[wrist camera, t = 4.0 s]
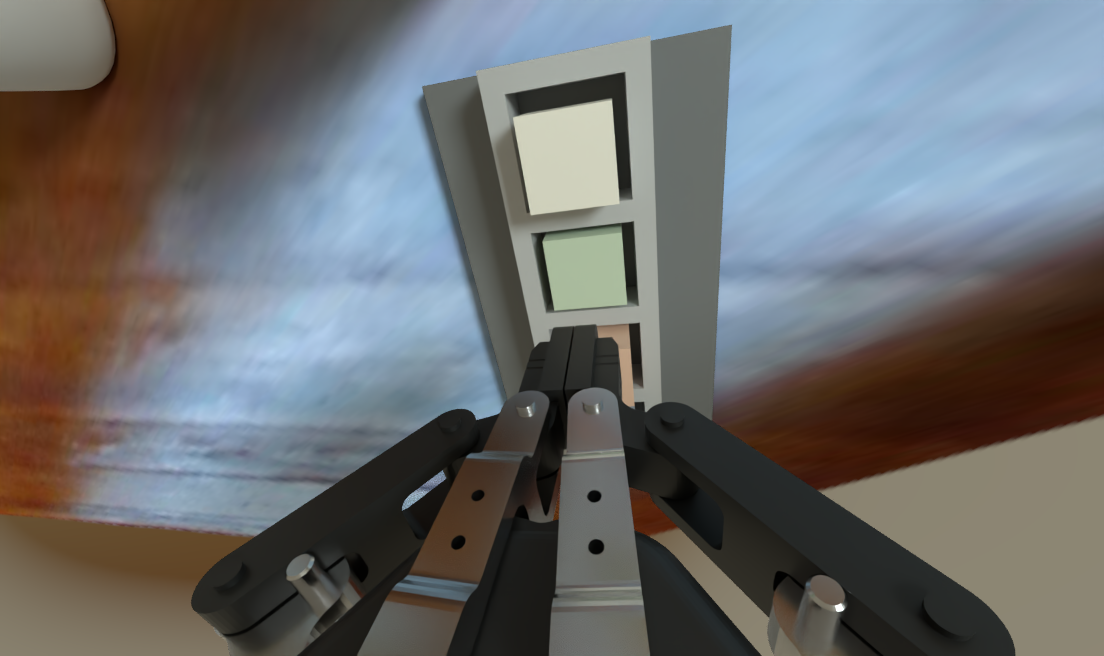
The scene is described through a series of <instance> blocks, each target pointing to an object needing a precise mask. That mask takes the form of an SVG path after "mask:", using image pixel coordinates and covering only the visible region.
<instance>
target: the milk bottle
mask: <svg viewBox="0 0 1104 656" xmlns="http://www.w3.org/2000/svg"><path fill="white" fill-rule="evenodd" d="M115 52H116V49H115V35H114V31H113V27H112V22H111V18H110V16H109V13H108V10H107V7H106V5H105V2H104V0H0V91H61V90H82V89H87V88H90V87H93V86H94V85H96V84H98V83H99V82H101V81H103V79H104V78H105V77H106V76H107V75H108V74H109V73H110V70H111V68H112V66H113V64H114V57H115Z"/></svg>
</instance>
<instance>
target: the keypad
mask: <svg viewBox="0 0 1104 656" xmlns="http://www.w3.org/2000/svg"><path fill="white" fill-rule="evenodd" d="M731 31H732V25H728V26H723V27H718V28H713V29H708V30H703V31H698V32H693V33H688V34H683V35H678V36H673V37H668V38H663V39H658V40H653V41H650V36H647V37H642V38H637V39H632V40H627V41H622V42H617V43H612V44H607V45H602V46H597V47H592V48H587V49H582V50H577V51H573V52H568V53H563V54H558V55H553V56H548V57H543V58H538V59H533V60H528V61H523V62H518V63H513V64H508V65H503V66H498V67H493V68H488V69H483V70H479V71H476V74H477V76H473V77H468V78H463V79H458V80H453V81H448V82H443V83H438V84H433V85H428V86H423V87H422V88H423V92H424V96H425V99H426V103H427V107H428V110H429V114H430V118H431V121H432V125H433V129H434V132H435V136H436V140H437V143H438V147H439V151H440V154H441V158H442V162H443V165H444V169H445V173H446V176H447V180H448V184H449V187H450V191H451V195H452V198H453V202H454V206H455V209H456V213H457V217H458V220H459V224H460V228H461V231H462V235H463V239H464V242H465V246H466V250H467V253H468V257H469V261H470V264H471V268H472V272H473V275H474V279H475V283H476V286H477V290H478V294H479V297H480V301H481V305H482V308H483V312H484V316H485V319H486V323H487V327H488V330H489V334H490V338H491V341H492V345H493V349H494V352H495V356H496V359H497V363H498V367H499V370H500V374H501V378H502V381H503V385H504V389H505V392H506V396H507V400H508V399H509V398H510V397H512V396H513V395H515V394H517V393H518V392H519V389H520V386H521V382H522V379H523V376H524V373H525V370H526V367H527V363H528V362H529V357H530V354H531V351H532V350H533V349H534V348H535V347H536V345H537V344H538V343H539V342H548V341H550V338H551V334H552V330H553V328H554V327H564V326H577V325H590V324H596V325H597V326H602V325H615V324H629V336H630V350H631V363H632V377H633V391H634V404H635V409H636V410H639V411H643V412H647V411H648V410H649V409H650V408H651V407H653V406H655V405H657V404H660V403H664V402H678V403H682V404H685V405H688V406H690V407H691V408H693V409H695V410H696V411H698V412H699V413H701V414H702V415H704V416H705V417H707V418H708V419H710V420H711V421H712V411H713V391H714V371H715V351H716V331H717V311H718V291H719V271H720V251H721V231H722V211H723V191H724V171H725V151H726V131H727V111H728V91H729V71H730V51H731ZM610 98H612V107H613V120H614V134H615V147H616V161H617V174H618V188H619V203H620V204H615V205H607V206H599V207H592V208H584V209H576V210H568V211H560V212H553V213H545V214H537V215H531V214H530V208H529V203H528V198H527V192H526V187H525V181H524V176H523V170H522V165H521V159H520V154H519V148H518V143H517V138H516V132H515V127H514V121H513V117H516V116H519V115H522V114H526V113H531V112H537V111H542V110H548V109H553V108H559V107H565V106H570V105H576V104H582V103H587V102H593V101H599V100H604V99H610ZM615 223H621V228H622V241H623V255H624V268H625V282H626V296H627V305H618V306H605V307H593V308H581V309H568V310H556V311H554V305H553V299H552V294H551V288H550V282H549V276H548V271H547V265H546V259H545V254H544V248H543V239H544V237H545V235H546V233H547V232H548V231H556V230H565V229H573V228H582V227H590V226H598V225H607V224H615ZM566 452H567V450H564V454H563V455H565V454H566Z"/></svg>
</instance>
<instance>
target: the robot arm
mask: <svg viewBox="0 0 1104 656" xmlns="http://www.w3.org/2000/svg"><path fill="white" fill-rule="evenodd" d="M564 450H567V452H566V454H565V455H563V454H564ZM442 470H443V472H444V474H445V476H446V479H445V480H444V481H443V482H441V483H440V484H439V485H438V486H436V487H435V488H434V489H432V490H431V491H430V492H428V493H427V494H426V495H424V496H423V497H422V498H421V499H419V500H418V501H417V502H415V503H414V504H413V505H411V506H410V507H409V508H407V509H405V510H403V511H402V505H403V503H404V501H405V499H406V498H407V497H408V496H409V495H410V494H411V493H413V492H414V491H415V490H417V489H418V488H419V487H421V486H422V485H423V484H425V483H426V482H427V481H429V480H430V479H431V478H433V477H434V476H435V475H437V474H438V473H439V472H441V471H442ZM560 485H561V488H560ZM629 487H631V488H635V489H638V490H641V491H645V492H648V493H650V497H651V499H652V501H653V502H654V503H655V504H656V505H657V506H658V507H659V508H660V509H661V510H662V511H663V512H664V513H665V514H666V515H667V516H668V517H669V518H670V519H671V520H672V521H673V522H674V523H675V524H676V525H677V526H678V527H679V528H680V529H681V530H682V531H683V532H684V533H685V534H686V535H687V536H688V537H689V538H690V539H691V540H692V541H693V542H694V543H695V544H696V545H697V546H698V547H699V548H700V549H701V550H702V551H703V552H704V553H705V554H706V555H707V556H708V557H709V558H710V559H711V560H712V561H713V562H714V563H715V564H716V565H717V566H718V567H719V568H720V569H721V570H722V571H723V572H724V573H725V574H726V575H727V576H728V577H729V578H730V579H731V580H732V581H733V582H734V583H735V584H736V585H737V586H738V587H739V588H740V589H741V590H742V591H743V592H744V593H745V594H746V595H747V596H748V597H749V598H750V599H751V600H752V601H753V602H754V603H755V604H756V605H757V606H758V607H759V608H760V609H761V610H762V611H763V612H764V613H765V614H766V615H767V616H768V617H769V622H768V629H767V634H768V641H769V644H770V647H771V650H772V652H773V654H774V656H1015V648H1014V644H1013V640H1012V638H1011V636H1010V634H1009V632H1008V630H1007V629H1006V627H1005V625H1004V624H1003V623H1002V621H1001V620H1000V619H999V618H998V616H997V615H996V614H995V613H994V612H993V611H992V610H991V609H990V608H989V607H988V606H987V605H986V604H985V603H984V602H983V601H982V600H980V599H979V598H978V597H976V596H975V595H974V594H973V593H971V592H970V591H968V590H967V589H965V588H964V587H962V586H961V585H959V584H958V583H956V582H955V581H953V580H952V579H950V578H949V577H947V576H946V575H944V574H943V573H941V572H940V571H938V570H937V569H935V568H933V567H932V566H931V565H929V564H928V563H926V562H924V561H923V560H921V559H920V558H918V557H917V556H915V555H914V554H912V553H911V552H909V551H908V550H906V549H905V548H903V547H902V546H900V545H899V544H897V543H896V542H894V541H893V540H891V539H890V538H888V537H887V536H885V535H884V534H882V533H881V532H879V531H877V530H876V529H875V528H873V527H872V526H870V525H868V524H867V523H866V522H864V521H862V520H861V519H859V518H858V517H856V516H855V515H853V514H852V513H850V512H849V511H847V510H846V509H844V508H843V507H841V506H840V505H838V504H837V503H835V502H834V501H832V500H831V499H829V498H828V497H826V496H825V495H823V494H822V493H820V492H819V491H817V490H816V489H814V488H813V487H811V486H810V485H808V484H806V483H805V482H803V481H802V480H800V479H799V478H797V477H796V476H794V475H793V474H791V473H790V472H788V471H787V470H785V469H784V468H782V467H781V466H779V465H778V464H776V463H775V462H773V461H772V460H770V459H769V458H767V457H766V456H764V455H763V454H761V453H760V452H758V451H757V450H755V449H754V448H752V447H751V446H749V445H747V444H746V443H744V442H743V441H741V440H740V439H738V438H737V437H735V436H734V435H732V434H731V433H729V432H728V431H726V430H725V429H723V428H722V427H720V426H719V425H717V424H716V423H714V422H713V421H711V420H710V419H708V418H707V417H705V416H704V415H702V414H701V413H699V412H698V411H696V410H695V409H693V408H691V407H690V406H688V405H685V404H682V403H678V402H664V403H660V404H657V405H655V406H653V407H651V408H650V409H649V410H648V411H647V412H643V411H639V410H636V409H633V408H631V407H629V406H627V405H626V404H625V403H624V402H623V401H622V378H621V368H620V358H619V348H618V344H617V343H616V342H615V340H614V339H613V338H612V337H605V338H598V331H597V325H596V324H590V325H577V326H564V327H554V328H553V330H552V334H551V338H550V341H548V342H539V343H538V344H537V345H536V347H535V348H534V349H533V350H532V351H531V354H530V357H529V362H528V363H527V367H526V370H525V373H524V376H523V379H522V382H521V386H520V389H519V392H518V393H517V394H515V395H513V396H512V397H510V398H509V399H508V400H507V401H506V402H505V403H504V405H503V407H502V409H501V412H500V413H499V414H497V415H494V416H490V417H487V418H483V419H479V420H476V418H475V416H474V414H473V413H472V412H471V411H469V410H466V409H455V410H451V411H448V412H445V413H443V414H441V415H440V416H438V417H437V418H435V419H434V420H432V421H431V422H429V423H428V424H426V425H425V426H423V427H421V428H420V429H418V430H417V431H415V432H414V433H412V434H411V435H409V436H408V437H406V438H405V439H403V440H402V441H400V442H399V443H397V444H396V445H394V446H393V447H391V448H390V449H388V450H386V451H385V452H383V453H382V454H380V455H379V456H377V457H376V458H374V459H373V460H371V461H370V462H368V463H367V464H365V465H364V466H362V467H361V468H359V469H358V470H356V471H355V472H353V473H352V474H350V475H348V476H347V477H345V478H344V479H342V480H341V481H339V482H338V483H336V484H335V485H333V486H332V487H330V488H329V489H327V490H326V491H324V492H323V493H321V494H320V495H318V496H317V497H315V498H314V499H312V500H310V501H309V502H307V503H306V504H304V505H303V506H301V507H300V508H298V509H297V510H295V511H294V512H292V513H291V514H289V515H288V516H286V517H285V518H283V519H282V520H280V521H279V522H277V523H276V524H274V525H272V526H271V527H269V528H268V529H266V530H265V531H263V532H262V533H260V534H259V535H257V536H256V537H254V538H253V539H251V540H250V541H248V542H247V543H245V544H244V545H242V546H241V547H239V548H238V549H236V550H235V551H233V552H231V553H230V554H228V555H227V556H225V557H224V558H223V559H221V560H220V561H219V562H217V563H216V564H215V565H214V566H213V567H212V568H211V569H210V570H209V571H208V572H207V573H206V574H205V575H204V576H203V578H202V579H201V580H200V582H199V583H198V585H197V586H196V588H195V591H194V593H193V595H192V600H191V604H192V608H193V610H194V611H196V612H197V613H198V614H199V615H200V616H201V617H203V618H204V619H205V620H206V621H207V622H208V623H210V624H211V625H212V626H213V627H214V630H215V632H216V633H217V634H218V635H219V636H221V638H223V639H224V640H225V641H226V642H227V643H228V649H229V654H230V656H761V655H760V653H759V652H758V651H757V650H756V649H755V648H754V647H753V645H752V644H751V643H750V642H749V641H748V640H747V639H746V637H745V636H744V635H743V634H742V633H741V632H740V630H739V629H738V628H737V627H736V626H735V625H734V623H732V621H731V620H730V619H729V618H728V616H727V615H726V614H725V613H724V612H723V611H722V610H721V609H720V607H719V606H718V605H717V604H716V603H715V601H714V600H713V599H712V598H711V597H710V596H709V595H708V593H707V592H706V591H705V590H704V589H703V588H702V586H701V585H700V584H699V583H698V582H697V581H696V580H695V578H694V577H693V576H692V575H691V574H690V573H689V571H688V570H687V569H686V568H685V567H684V566H683V564H682V563H681V562H680V561H679V560H678V559H677V558H676V557H675V556H674V555H673V554H672V553H671V552H670V551H669V550H668V549H667V548H666V547H664V546H663V545H661V544H660V543H659V542H657V541H656V540H654V539H652V538H650V537H649V536H647V535H645V534H642V533H640V532H637V531H635V530H634V526H633V518H632V510H631V502H630V494H629ZM559 489H560V509H559V520H554V521H552V520H553V516H554V511H555V507H556V502H557V498H558V494H559Z"/></svg>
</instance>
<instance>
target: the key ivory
mask: <svg viewBox="0 0 1104 656" xmlns="http://www.w3.org/2000/svg"><path fill="white" fill-rule="evenodd" d="M513 121H514V127H515V132H516V138H517V143H518V148H519V154H520V159H521V165H522V170H523V176H524V181H525V187H526V192H527V198H528V203H529V208H530V214H531V215H537V214H545V213H553V212H560V211H568V210H576V209H584V208H592V207H599V206H607V205H615V204H620V203H619V188H618V174H617V161H616V147H615V134H614V120H613V107H612V98H610V99H604V100H599V101H593V102H587V103H582V104H576V105H570V106H565V107H559V108H553V109H548V110H542V111H537V112H531V113H526V114H522V115H519V116H516V117H513Z"/></svg>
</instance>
